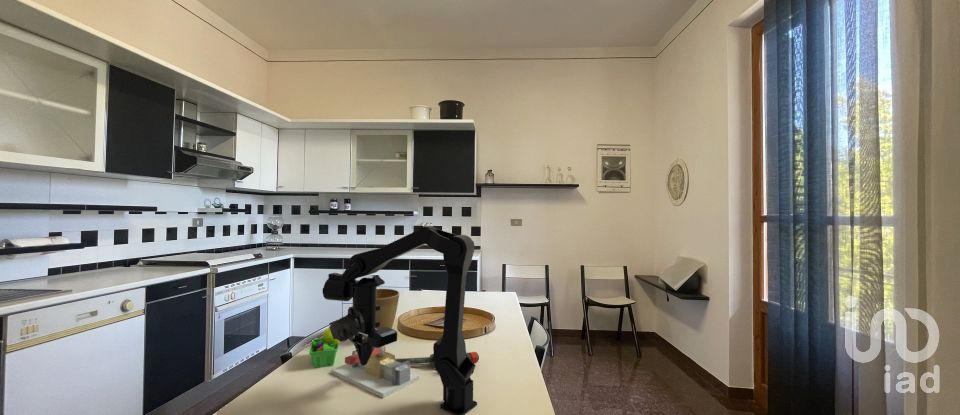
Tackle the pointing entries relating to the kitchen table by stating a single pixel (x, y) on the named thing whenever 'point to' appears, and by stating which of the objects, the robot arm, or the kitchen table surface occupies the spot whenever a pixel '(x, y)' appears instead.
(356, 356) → the lever
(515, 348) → the kitchen table surface
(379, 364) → the pipe valve
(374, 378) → the mounting board
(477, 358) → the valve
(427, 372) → the kitchen table surface
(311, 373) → the kitchen table surface
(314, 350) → the fruit basket
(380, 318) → the plant pot
